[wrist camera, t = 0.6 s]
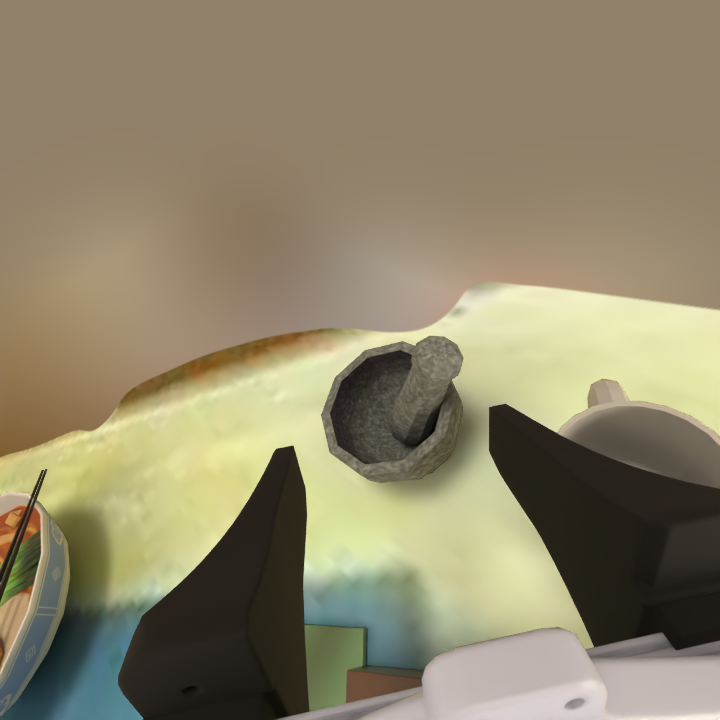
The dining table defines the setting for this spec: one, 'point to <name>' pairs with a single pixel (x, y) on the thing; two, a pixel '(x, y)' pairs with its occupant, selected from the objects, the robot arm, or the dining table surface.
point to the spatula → (348, 668)
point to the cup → (646, 435)
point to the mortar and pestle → (396, 410)
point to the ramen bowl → (28, 588)
